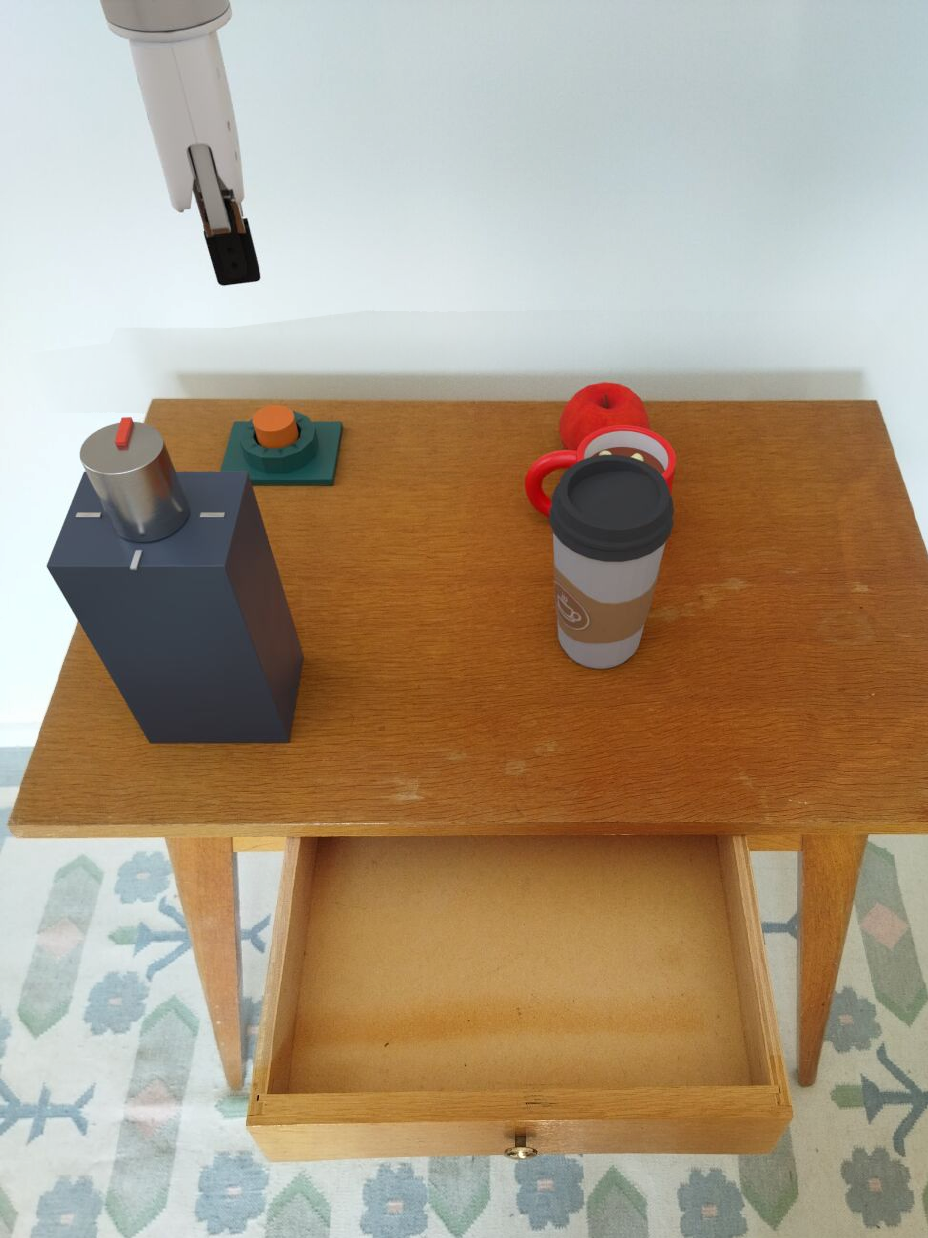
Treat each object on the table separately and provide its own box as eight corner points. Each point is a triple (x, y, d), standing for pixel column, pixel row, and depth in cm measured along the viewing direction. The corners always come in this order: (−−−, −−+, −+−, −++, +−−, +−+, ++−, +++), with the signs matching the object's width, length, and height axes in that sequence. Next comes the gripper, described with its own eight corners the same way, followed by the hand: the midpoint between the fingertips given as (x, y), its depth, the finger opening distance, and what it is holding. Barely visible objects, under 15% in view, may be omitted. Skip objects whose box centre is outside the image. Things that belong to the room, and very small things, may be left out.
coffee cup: (523, 630, 74) (523, 481, 62) (606, 584, 77) (621, 433, 65) (590, 699, 70) (604, 555, 58) (674, 648, 73) (704, 500, 61)
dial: (183, 541, 54) (154, 467, 50) (105, 544, 54) (68, 471, 50) (194, 489, 57) (167, 415, 52) (119, 491, 56) (85, 418, 52)
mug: (528, 491, 83) (529, 417, 77) (665, 501, 83) (676, 427, 76) (519, 555, 79) (519, 482, 72) (663, 566, 78) (676, 493, 72)
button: (254, 450, 83) (249, 431, 81) (261, 424, 85) (255, 404, 84) (295, 450, 83) (291, 431, 81) (301, 424, 85) (296, 404, 84)
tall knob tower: (148, 747, 68) (42, 568, 53) (173, 653, 72) (83, 465, 58) (289, 746, 68) (223, 568, 53) (304, 652, 73) (248, 465, 58)
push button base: (219, 485, 83) (212, 463, 81) (235, 427, 88) (228, 404, 86) (333, 485, 84) (328, 463, 82) (343, 427, 88) (338, 404, 86)
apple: (593, 423, 89) (598, 353, 83) (663, 458, 86) (673, 388, 80) (540, 466, 85) (541, 396, 79) (611, 504, 82) (618, 435, 76)
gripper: (101, -48, 61) (186, 233, 76) (96, 46, 53) (192, 341, 68) (220, -58, 62) (280, 222, 77) (233, 34, 54) (298, 327, 69)
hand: (239, 277), depth 72 cm, fingers closed
